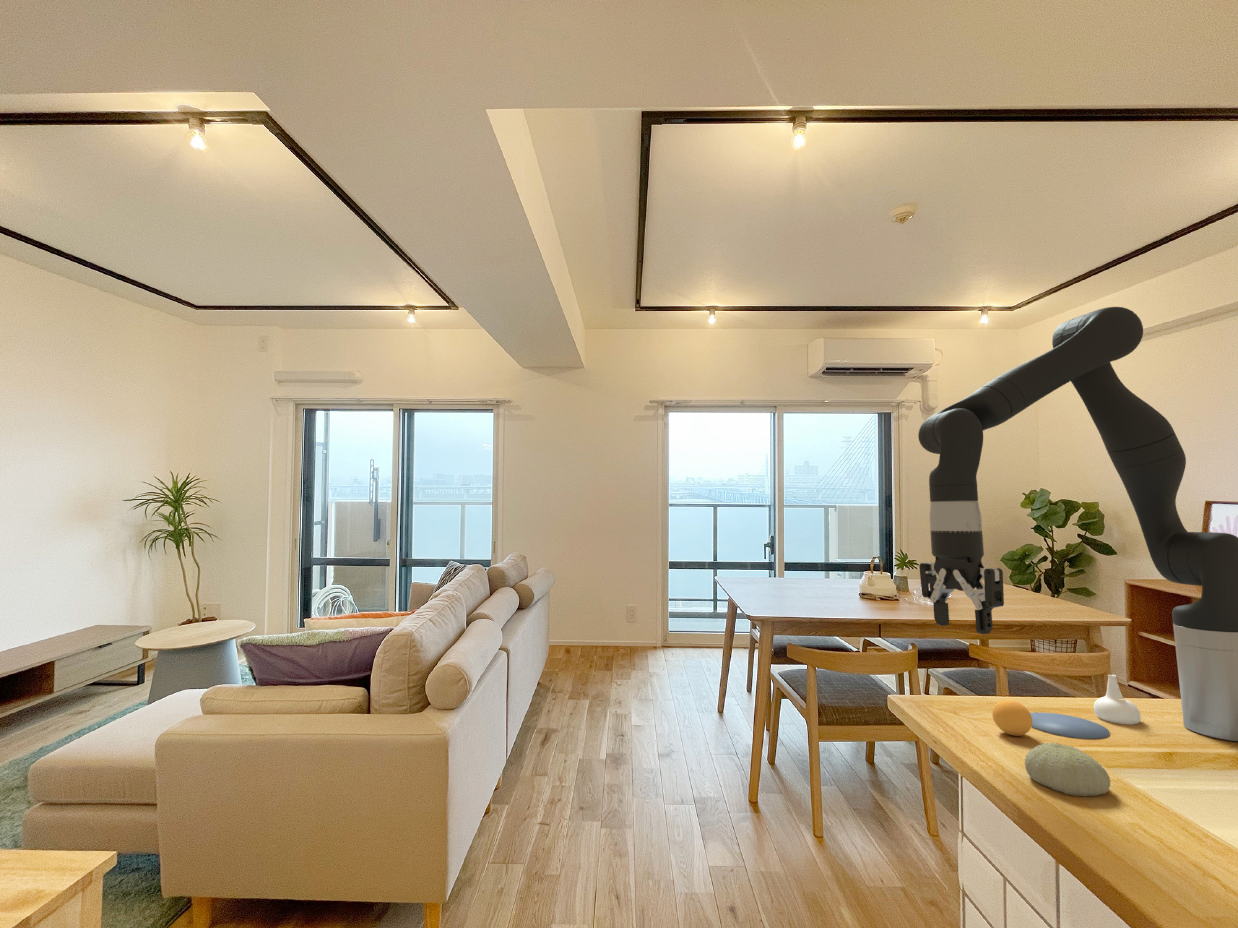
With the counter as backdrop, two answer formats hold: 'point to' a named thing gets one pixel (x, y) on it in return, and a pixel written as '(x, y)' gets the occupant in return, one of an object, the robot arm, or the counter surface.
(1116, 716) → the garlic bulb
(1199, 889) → the counter surface
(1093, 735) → the disc
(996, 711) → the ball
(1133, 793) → the counter surface
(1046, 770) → the sea urchin shell
